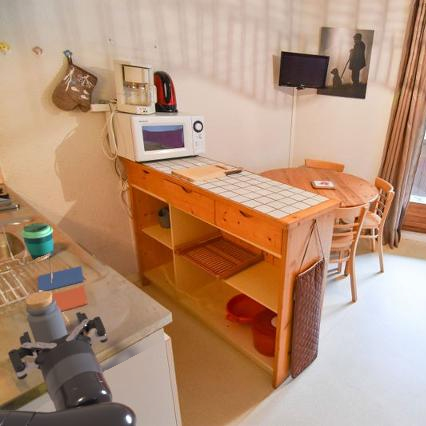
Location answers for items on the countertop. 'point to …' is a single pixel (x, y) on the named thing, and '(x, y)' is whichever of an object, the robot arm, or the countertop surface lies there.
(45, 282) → the mats
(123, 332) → the countertop surface
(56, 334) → the bottle
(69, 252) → the countertop surface
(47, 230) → the cup
